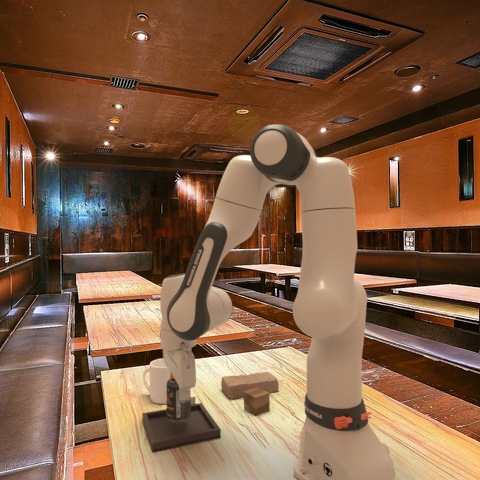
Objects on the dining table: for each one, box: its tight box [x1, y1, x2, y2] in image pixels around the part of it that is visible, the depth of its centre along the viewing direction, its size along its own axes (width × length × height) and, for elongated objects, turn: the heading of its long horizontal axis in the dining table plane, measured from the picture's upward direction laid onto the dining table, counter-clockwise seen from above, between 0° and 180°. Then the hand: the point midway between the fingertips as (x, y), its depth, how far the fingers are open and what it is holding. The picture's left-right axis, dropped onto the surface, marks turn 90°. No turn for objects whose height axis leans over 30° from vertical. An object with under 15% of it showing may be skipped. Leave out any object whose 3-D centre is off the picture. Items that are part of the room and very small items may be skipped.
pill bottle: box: [166, 372, 191, 421], centre depth 96 cm, size 6×6×11 cm
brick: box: [220, 371, 279, 400], centre depth 120 cm, size 17×8×5 cm, turn 112°
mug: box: [142, 357, 170, 405], centre depth 115 cm, size 9×12×11 cm
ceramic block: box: [190, 388, 196, 405], centre depth 108 cm, size 6×6×4 cm
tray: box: [141, 402, 222, 453], centre depth 96 cm, size 16×16×2 cm
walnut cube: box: [243, 388, 271, 417], centre depth 106 cm, size 5×5×5 cm
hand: (178, 393), depth 96 cm, fingers closed on pill bottle, 6 cm apart
